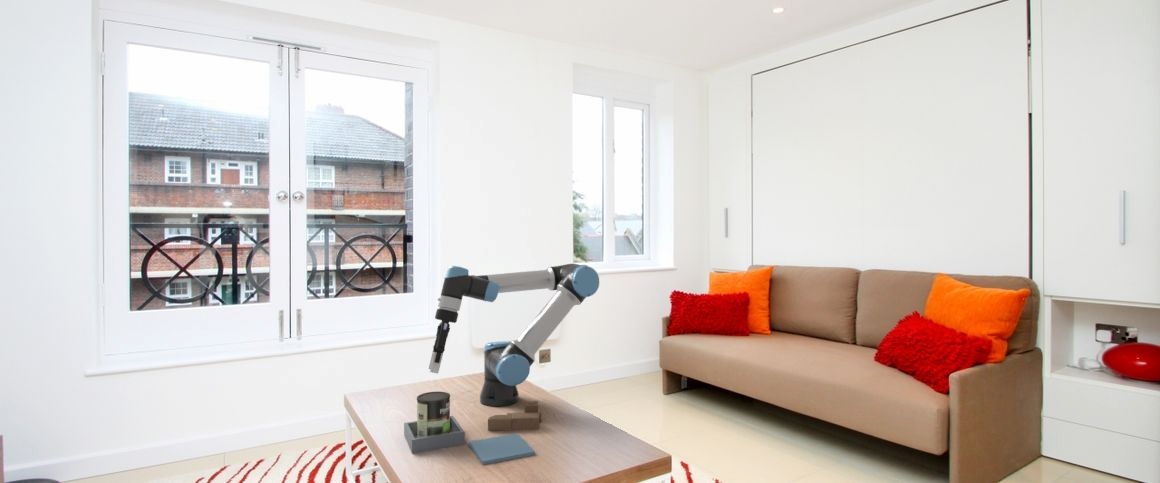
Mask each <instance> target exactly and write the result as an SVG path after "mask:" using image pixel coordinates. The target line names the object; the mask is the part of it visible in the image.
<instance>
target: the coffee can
mask: <svg viewBox="0 0 1160 483" xmlns="http://www.w3.org/2000/svg"><path fill="white" fill-rule="evenodd" d="M450 399H451V394H450V393H449V392H447V391H429V392H424V393H421V394H418V395H417V397H416V401H417V405H416V408H417V410H416V411H417V416H416V417H417V418H416V419H417V420H416V421H417V434H416V435H417V438H420V437H427V436H433V435H439V434H445V433H451V429H450V416H451V415H450V414H451V412H450V411H451V406H450V405H451V403H450V402H451V400H450Z"/></svg>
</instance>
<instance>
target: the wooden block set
mask: <svg viewBox="0 0 1160 483" xmlns="http://www.w3.org/2000/svg"><path fill="white" fill-rule="evenodd" d="M541 422H542V412H541V411H540V412H539V401H538V400H535V401H528V402H526V404H525V405H524V412H507V413H506V414H495V415H491V416H490V417H488V419H487V431H488V432H491V431H492V432H494V431H495V432H497V431H513V432H514V431H517V432H518V431H519V432H520V431H538V429H539V430H540V423H541Z"/></svg>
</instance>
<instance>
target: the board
mask: <svg viewBox="0 0 1160 483" xmlns="http://www.w3.org/2000/svg"><path fill="white" fill-rule="evenodd" d="M468 446H469V447H470V449H471V451H473V453H474V454H475V456H476V458H477V459H478V460H479V462H480V463H481V465H482V466H484V465H488V464H493V463H498V462H505V461H509V460H510V461H511V460H514V459H515V460H516V459H520V458H525V457H530V456H536V451H535V450H534V449H533V448H532V447H531V446H530V444H528V442H526V441H525V439H524V438H522V437H521V435H520V434H519V433H517V432H516V433H510V434H506V435H505V434H504V435H499V436H498V435H497V436H493V437H487V438H482V439H476V440H469V441H468Z"/></svg>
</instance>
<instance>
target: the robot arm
mask: <svg viewBox="0 0 1160 483" xmlns="http://www.w3.org/2000/svg"><path fill="white" fill-rule="evenodd" d="M599 287H600V276H599V274H598V272H597V271H596V270H595V268H593V267H591V266H588V265H587V264H576V263H566V264H563V265H562V264H561V265H556V266H555V265H554V266H548V267H547V268H546V269H542V270H541V269H539V270H530V271H528V270H527V271H519V272H507V273H505V272H504V273H495V274H493V273H492V274H486V275H485V274H484V275H474V274H473V275H469V269H468V268H464V267H462V266H456V265H449V266H448V267H447V270H446V273H445V276H444V281H443V284H442V289H441V292H440V296H439V297H437V301H438V305H437V306H438V308H436V312H435V316H434V318H435V320H439V321H441V322H440V323H439V324H438V326H437V330H436V334H435V335H436V338H435V341H434V345H433V346H432V348H433V349H432V353H431V356H430V361H429V364H428V370H429V373H434V374H439V372H440V367H441V364H442V360H443V355H444V351H446V350H445V349H446V348H445V347H446V343H447V339H448V336H449V332H450V329H451V327H450V326H451V324H450V323H452V324H456V323H457V321H458V318H459V312H460V309H461V306H462V300H463V297H467V298H471V299H475V300H480V301H484V302H489V303H494V302H495V301H496V299H497V297H498V295H499V294H501V293H502V294H503V293H515V292H523V291H525V292H526V291H537V290H544V289H547V290H549V291H556V292H555V294H554V295H553V296H552V297H551V298H550V300H548V302H547V303H546V304H545V305H544V306H543V308H542V309H541V310H540V311H539V313H538V314H537V315H536V316H535V318H534V319H533V320H532V321H531V323H530V324H529V325H528V326H527V327H526V328H525V329H524V331H523V332H522V333H521V335H520V336H519V337H518V338H517V339H516V340H511V341H509V340H508V341H507V340H505V341H502V340H501V341H492V342H487V343H485V345H484V350H483V353H484V356H483V358H484V360H483V361H484V367H483V368H484V369H483V370H484V371H483V372H484V373H483V374H484V382H483V386H482V387H481V388H482V389H481V392H480V393H479V403H480V404H482V405H485V406H489V407H490V406H491V407H503V406H504V407H505V406H506V407H507V406H509V405H514V404H515V403H517V402H519V400H520V393H519V391H518V387H517V386H518V385H521V384H523V383H524V382H525V381H526V380H527V379H528V377H529V375H530V372H531V371H530V370H531V366H533V364H534V363H535V361H536V358H535V355H536V353H537V352H538V351H539V350H540V348H541V347H542V346H543V345H544V344H545V342H546V341H547V340H548V338H549V337H550V336H551V335H552V334H553V333H554V332H555V330H556V329H557V327H558V326H559V325H560V324H561V322H562V321H563V320H564V319H565V318H566V316H567V315H568V314H569V313H570V311H571V310H572V309H573V308H574V306H580V305H582V303H583V302H584V300H585V299H587V298H588V297H591V296H594V295H595V293H597V291H598V289H599Z"/></svg>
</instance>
